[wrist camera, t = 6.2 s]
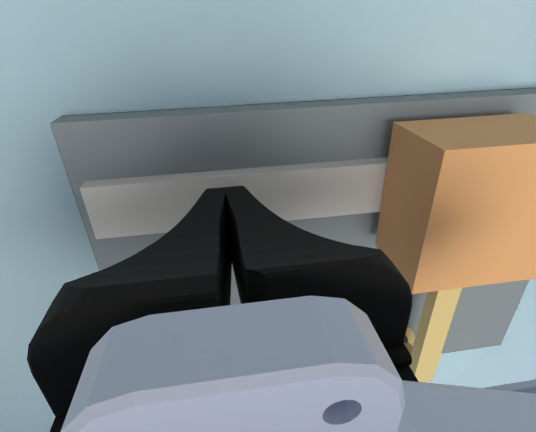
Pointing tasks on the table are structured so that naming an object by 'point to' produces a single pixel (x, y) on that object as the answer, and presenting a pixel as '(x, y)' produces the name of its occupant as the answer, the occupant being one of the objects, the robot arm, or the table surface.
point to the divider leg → (458, 214)
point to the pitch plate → (269, 177)
